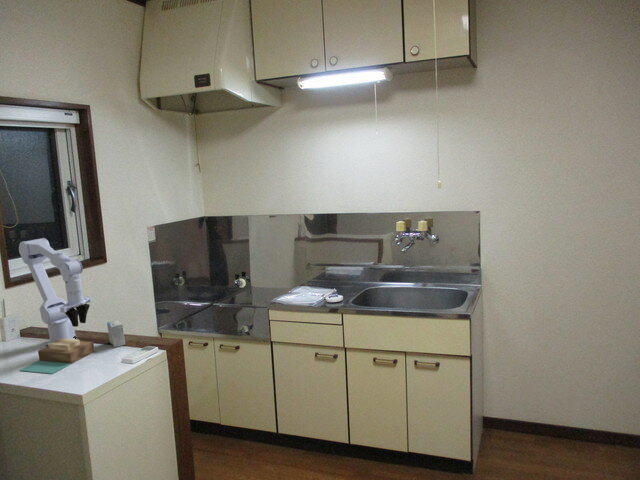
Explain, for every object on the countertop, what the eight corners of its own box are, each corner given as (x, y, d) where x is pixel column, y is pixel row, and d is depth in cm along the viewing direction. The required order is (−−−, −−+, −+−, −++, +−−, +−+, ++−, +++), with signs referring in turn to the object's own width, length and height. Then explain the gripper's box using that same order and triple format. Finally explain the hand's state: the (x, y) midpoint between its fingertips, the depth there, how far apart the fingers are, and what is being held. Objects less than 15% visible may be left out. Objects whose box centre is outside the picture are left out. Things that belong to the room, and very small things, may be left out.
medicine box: (125, 344, 209) (123, 324, 208) (114, 347, 207) (111, 326, 205) (120, 339, 216) (118, 319, 214) (109, 342, 213) (106, 322, 212)
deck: (63, 349, 208) (62, 339, 208) (94, 351, 204) (93, 341, 203) (39, 361, 197) (37, 351, 197) (71, 363, 193) (69, 353, 192)
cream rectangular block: (61, 343, 204) (60, 338, 203) (80, 344, 201) (79, 339, 200) (49, 349, 198) (48, 344, 198) (68, 350, 195) (67, 345, 195)
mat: (38, 361, 197) (38, 360, 197) (70, 364, 192) (70, 363, 192) (19, 370, 189) (19, 370, 189) (52, 374, 184) (52, 373, 184)
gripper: (68, 296, 196) (73, 331, 198) (96, 286, 209) (100, 319, 212) (53, 296, 198) (58, 330, 200) (81, 286, 212) (86, 318, 214)
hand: (79, 324), depth 206 cm, fingers open, 3 cm apart
